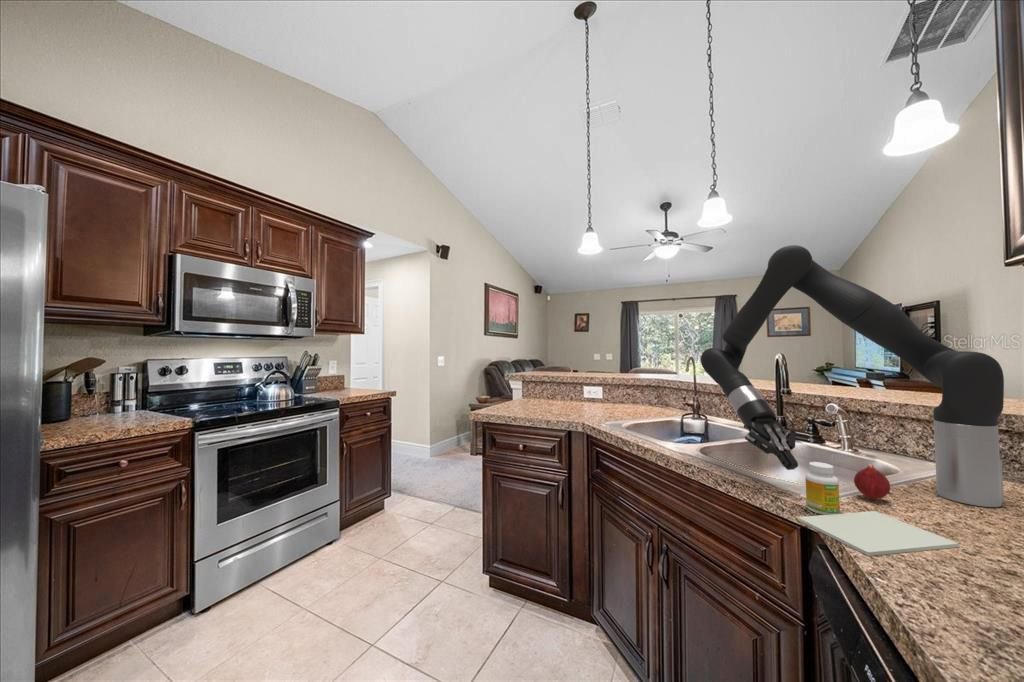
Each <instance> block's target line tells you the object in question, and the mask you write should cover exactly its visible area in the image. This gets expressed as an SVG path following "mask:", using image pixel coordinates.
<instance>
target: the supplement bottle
mask: <svg viewBox="0 0 1024 682" xmlns="http://www.w3.org/2000/svg"><path fill="white" fill-rule="evenodd" d="M808 469H809V471H808V472H807V473H806V474H805V500H806V503H805V504H806V508H807V509H808V510H809V511H811V512H813V513H816V514H819V515H832V514H841V513H840V510H841V509H840V485H839V484H840V483H839V479H838V477H836V476H835V475H833V474H835V473H834V472H835V471H834V470H835V469H834V465H831V464H830V463H825V462H820V461H810V462H809V463H808Z"/></svg>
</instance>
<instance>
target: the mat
mask: <svg viewBox="0 0 1024 682" xmlns="http://www.w3.org/2000/svg"><path fill="white" fill-rule="evenodd" d="M797 521H799V522H800V523H802V524H804V525H806V526H808V527H809V528H812V529H814V530H816V531H818V532H820V533H822V534H824V535H825V536H828V537H830V538H832V539H833V540H836V541H838V542H840V543H841V544H843V545H845V546H848V547H849V548H851V549H853V550H855V551H858V552H859V553H861V554H864V555H865V556H868V557H872V556H881V555H891V554H901V553H912V552H913V553H915V552H923V551H924V552H925V551H934V550H935V551H936V550H942V549H943V550H944V549H951V548H952V549H955V548H959V547H960V544H959V543H958V542H957V541H953V540H951V539H947V538H945V537H942V536H940V535H938V534H935V533H933V532H930V531H927V530H925V529H922V528H920V527H918V526H915V525H912V524H909V523H907V522H905V521H901V520H899V519H896V518H895V517H892V516H889V515H887V514H883V513H881V512H878V511H876V510H871V511H869V510H868V511H860V512H857V511H856V512H849V513H848V512H847V513H846V512H845V513H839V514H832V515H822V514H819V515H810V516H798V517H797Z"/></svg>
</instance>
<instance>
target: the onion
mask: <svg viewBox="0 0 1024 682" xmlns="http://www.w3.org/2000/svg"><path fill="white" fill-rule="evenodd" d="M853 483H854V485H855V487H856V489H857V490H858V492H860V493H861V494H862V495H863V496H864V497H866V498H867V499H868V500H870V501H877V500H878V499H882V498H884V497H886V496H887V495H888V494H889V493H890V490H891V483H890V481H889V478H887V476H886V475H884V473H883V472H881V471H880V470H878V469H876V468H875V466H874V465H873V464H872V463H869V464H867V467H866V468H862V469H861V470H859V471H858V472H856V474H855V475H854V479H853Z"/></svg>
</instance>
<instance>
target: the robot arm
mask: <svg viewBox="0 0 1024 682" xmlns="http://www.w3.org/2000/svg"><path fill="white" fill-rule="evenodd" d="M791 288H793V289H796V290H797V291H799V292H801V293H803V294H805V295H806V296H808V297H810V298H811V299H812V300H813V301H814V302H816V303H817V304H818V306H820V307H822V308H823V309H824V310H825V311H826V312H828V313H829V314H830V315H832V316H833V317H834V318H836V319H837V320H839V321H840V322H841V323H842V324H844V325H845V326H847V327H849V328H851V329H852V330H853V331H855V332H856V333H858V334H860V335H861V336H863V337H865V338H866V339H868V340H869V341H872V342H873V343H874V344H876V345H878V346H879V347H881V348H883V349H884V350H887V351H889V352H890V353H892V354H894V355H895V356H896V357H898V358H899V359H901V360H902V361H904V362H905V363H906V364H907V365H909V366H910V367H911V368H913V369H914V370H915V371H916V372H918V373H919V374H920V375H921V376H923V378H925V379H926V380H927V381H929V382H930V383H931V384H933V385H935V386H936V387H938V388H941V389H942V394H941V402H940V403H939V405H938V406H935V407H934V408H933V411H932V412H933V413H932V415H933V417H932V418H933V434H934V455H935V457H934V458H935V459H934V460H935V482H936V483H935V484H936V494H937V495H938V496H940V497H942V498H944V499H947V500H950V501H953V502H957V503H962V504H966V505H969V506H970V505H971V506H977V507H984V508H986V507H987V508H999V507H1002V505H1003V504H1004V502H1005V498H1004V497H1005V496H1004V495H1005V494H1004V479H1003V477H1004V473H1003V460H1002V459H1001V456H1000V455H1001V454H1000V439H999V438H1000V437H999V417H1000V416H1001V415H1002V413H1003V409H1004V403H1005V398H1004V397H1005V396H1004V394H1005V387H1004V386H1005V377H1004V372H1003V368H1002V366H1001V364H1000V363H999V361H998V360H996V358H994V357H992V356H991V355H990V354H987V353H983V352H979V351H965V350H964V351H961V350H960V351H959V350H956V349H953V348H951V347H949V346H947V345H945V344H943V343H941V342H940V341H938V340H936V339H934V338H932V337H930V336H929V335H928V334H926V333H924V332H923V331H922V330H921V329H920V328H919V327H918V326H917V325H916V323H914V322H913V320H912V319H911V318H910V317H909V316H908V315H907V314H906V313H905V312H904V311H903V310H902V309H901V308H900V307H898V306H897V305H895V304H894V303H893V302H891V301H890V300H887V299H886V298H885V297H883V296H881V295H879V294H878V293H876V292H874V291H872V290H870V289H868V288H866V287H863V286H862V285H859V284H857V283H855V282H852V281H850V280H847V279H846V278H845V279H844V278H843V277H840V276H837V275H835V274H833V273H832V272H830V271H829V270H827V269H826V268H824V267H823V266H822V265H820V264H819V263H817V262H816V261H815V260H813V256H812V254H811V253H810V251H809V250H808V249H807V248H806V247H805V246H804V247H803V246H801V245H798V244H796V245H795V244H793V245H790V244H789V245H786V246H782V247H780V248H779V249H777V250H776V251H775V252H773V254H772V255H771V256H770V258H769V260H768V261H767V267H766V270H765V272H764V275H763V277H762V278H761V281H760V282H759V284H758V285H757V287H756V289H755V290H754V291H753V293H752V294H751V296H750V297H749V298H748V299H747V301H746V302H745V304H744V305H743V306H742V307H741V308H740V310H739V311H738V312H737V314H735V316H734V318H732V320H731V322H730V323H729V325H728V326H727V327H726V329H725V331H723V334H722V336H721V338H722V341H724V343H726V345H725V347H724V350H723V349H721V348H716V347H709V348H707V349H705V350H704V351H702V353H701V356H700V364H701V366H702V369H703V370H704V371H705V372H706V374H707V375H708V376H709V377H710V378H712V380H713V382H716V384H717V385H718V386H719V387H720V388H721V389H722V391H723V393H724V394H725V396H726V398H727V399H728V401H729V403H730V405H731V406H732V408H733V410H734V412H735V413H736V414H737V417H738V418H739V419H740V421H741V422H742V424H743V426H744V427H745V428H746V429H748V431H749V432H748V433H747V434H746V435H745V436H744V439H745V440H746V441H747V442H749V443H750V444H752V445H753V446H754V447H756V448H758V449H759V450H761V451H762V452H764V453H765V454H768V455H769V454H772V455H774V456H775V457H777V459H778V460H779V462H780V463H781V466H783V467H784V468H785V469H786V470H787V471H791V470H796V468H798V467H799V463H798V460H797V459H796V458H795V456H794V455H793V454H792V452H791V451H792V450H793V449H795V448H796V437H797V432H796V430H794V429H792V428H791V429H790V430H789V429H787V428H784V426H783V425H782V424H781V423H780V422H779V421H778V420H777V418H776V417H777V416H776V412H774V411H773V408H771V406H770V405H769V403H768V402H767V400H766V399H765V398H764V397H763V396H762V394H761V393H760V391H758V390H757V388H756V387H755V386H754V385H753V383H752V382H751V381H750V380H749V378H748V377H747V376H746V374H745V373H743V372H741V371H740V370H738V369H739V368H740V366H741V364H742V363H743V360H744V357H745V354H746V351H747V348H748V345H749V344H750V343H751V341H753V339H754V338H755V337H756V335H757V333H758V332H759V330H760V329H761V328H762V326H763V325H764V324H765V322H766V320H767V318H768V317H769V316H770V315H771V313H772V311H773V310H774V308H775V307H776V306H777V305H778V303H779V302H780V301H781V300H782V299H783V297H784V296H785V295H786V294H787V292H788V291H790V289H791Z"/></svg>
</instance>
